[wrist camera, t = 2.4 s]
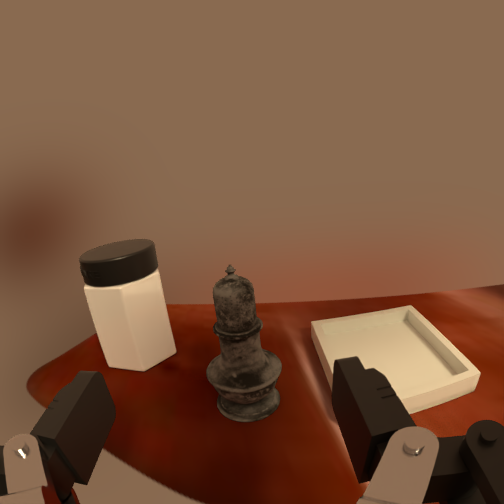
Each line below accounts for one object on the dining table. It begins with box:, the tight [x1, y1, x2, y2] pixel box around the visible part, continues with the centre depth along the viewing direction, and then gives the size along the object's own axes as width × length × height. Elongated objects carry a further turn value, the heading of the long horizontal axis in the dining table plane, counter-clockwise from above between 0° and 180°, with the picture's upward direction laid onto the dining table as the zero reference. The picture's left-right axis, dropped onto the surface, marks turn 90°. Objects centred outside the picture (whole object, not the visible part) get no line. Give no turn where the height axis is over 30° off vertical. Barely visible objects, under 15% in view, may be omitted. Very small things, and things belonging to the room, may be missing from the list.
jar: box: [79, 239, 177, 371], centre depth 31 cm, size 9×8×12 cm
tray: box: [311, 305, 481, 414], centre depth 26 cm, size 12×14×2 cm
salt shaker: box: [206, 265, 282, 422], centre depth 23 cm, size 6×6×12 cm
